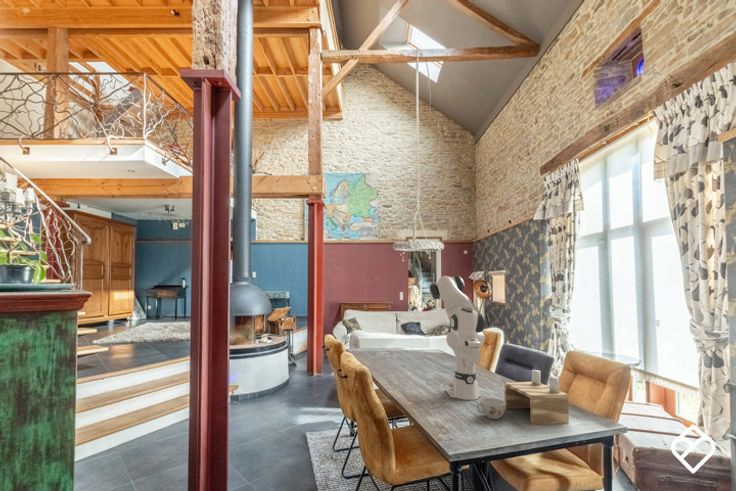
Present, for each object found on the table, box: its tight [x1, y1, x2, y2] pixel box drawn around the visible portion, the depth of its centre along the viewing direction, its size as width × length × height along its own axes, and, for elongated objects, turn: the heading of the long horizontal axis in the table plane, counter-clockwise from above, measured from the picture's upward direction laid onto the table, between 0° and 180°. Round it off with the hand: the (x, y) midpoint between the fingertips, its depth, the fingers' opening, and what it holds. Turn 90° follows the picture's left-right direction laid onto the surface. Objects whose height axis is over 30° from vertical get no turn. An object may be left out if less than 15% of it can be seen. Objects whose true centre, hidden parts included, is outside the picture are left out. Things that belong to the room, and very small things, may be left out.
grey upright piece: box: [548, 375, 560, 393], centre depth 192 cm, size 4×4×7 cm
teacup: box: [476, 397, 507, 420], centre depth 191 cm, size 15×12×8 cm
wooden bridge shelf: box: [503, 381, 570, 426], centre depth 197 cm, size 24×20×14 cm
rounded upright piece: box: [531, 369, 542, 385], centre depth 206 cm, size 4×4×7 cm
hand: (467, 368), depth 191 cm, fingers open, 5 cm apart
